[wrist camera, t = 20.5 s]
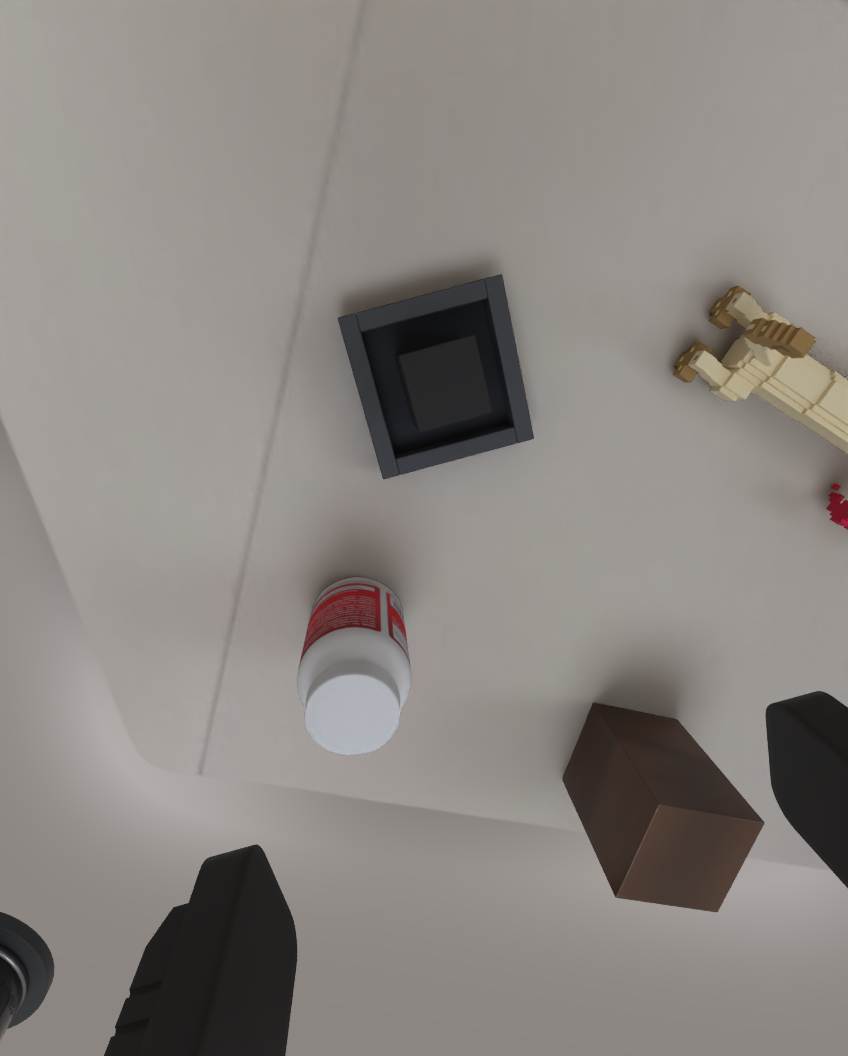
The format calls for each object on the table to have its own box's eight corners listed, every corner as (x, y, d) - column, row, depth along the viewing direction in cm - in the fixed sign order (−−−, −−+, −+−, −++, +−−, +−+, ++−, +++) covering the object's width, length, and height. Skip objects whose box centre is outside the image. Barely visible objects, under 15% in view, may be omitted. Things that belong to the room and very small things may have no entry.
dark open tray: (382, 472, 35) (383, 479, 33) (339, 320, 33) (337, 317, 30) (524, 433, 36) (534, 439, 33) (493, 279, 33) (502, 274, 31)
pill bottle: (293, 628, 38) (263, 732, 27) (345, 557, 37) (334, 637, 26) (369, 673, 39) (368, 788, 29) (421, 606, 38) (440, 700, 28)
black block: (413, 423, 34) (419, 432, 30) (395, 356, 33) (398, 355, 28) (477, 405, 34) (492, 412, 30) (461, 337, 33) (475, 334, 28)
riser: (561, 779, 43) (615, 898, 34) (593, 702, 42) (659, 803, 32) (643, 794, 45) (717, 912, 35) (677, 719, 43) (765, 822, 33)
